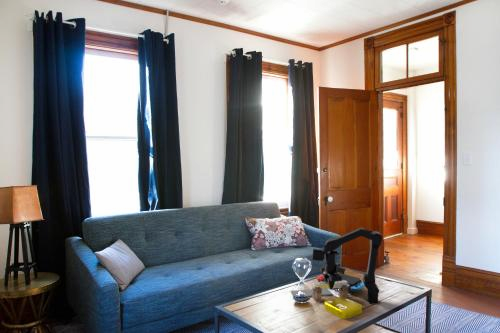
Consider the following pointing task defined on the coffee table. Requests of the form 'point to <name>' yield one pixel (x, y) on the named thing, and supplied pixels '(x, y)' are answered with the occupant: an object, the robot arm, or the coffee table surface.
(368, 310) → the coffee table surface
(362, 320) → the coffee table surface
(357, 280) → the game console
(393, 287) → the coffee table surface
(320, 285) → the steel rail
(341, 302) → the element tile
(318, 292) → the hook posts
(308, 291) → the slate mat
